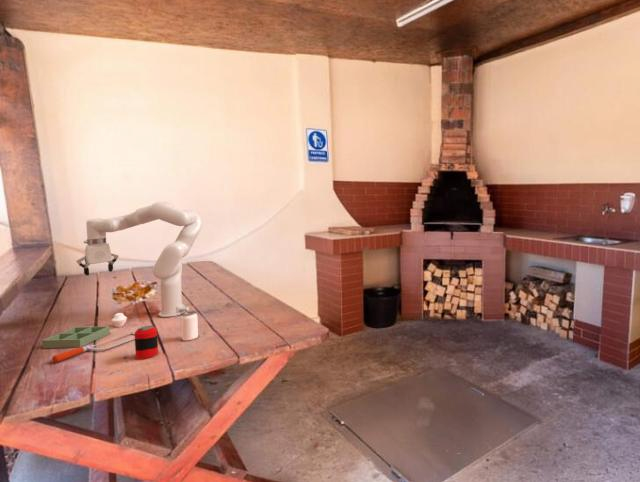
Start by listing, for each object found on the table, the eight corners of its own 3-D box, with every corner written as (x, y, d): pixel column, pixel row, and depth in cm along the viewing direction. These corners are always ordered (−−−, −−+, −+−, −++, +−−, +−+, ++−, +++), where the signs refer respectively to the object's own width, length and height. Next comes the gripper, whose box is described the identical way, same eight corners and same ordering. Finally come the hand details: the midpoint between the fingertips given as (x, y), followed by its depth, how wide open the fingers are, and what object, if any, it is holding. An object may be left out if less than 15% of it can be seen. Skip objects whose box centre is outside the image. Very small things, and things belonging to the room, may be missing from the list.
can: (185, 342, 180) (184, 316, 179) (179, 339, 183) (178, 314, 183) (200, 337, 185) (199, 312, 185) (194, 334, 189) (193, 310, 188)
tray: (109, 333, 191) (109, 326, 191) (80, 347, 175) (79, 339, 175) (75, 334, 191) (75, 327, 190) (42, 348, 174) (42, 340, 174)
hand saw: (130, 329, 192) (147, 330, 190) (130, 335, 192) (147, 337, 190) (51, 355, 160) (70, 357, 158) (51, 362, 160) (70, 365, 158)
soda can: (131, 357, 164) (130, 330, 163) (150, 350, 171) (149, 323, 170) (143, 360, 161) (141, 332, 161) (162, 353, 168) (161, 326, 168)
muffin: (125, 323, 205) (125, 310, 205) (128, 325, 202) (127, 312, 201) (110, 326, 201) (109, 313, 200) (112, 329, 197) (112, 315, 196)
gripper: (77, 244, 199) (80, 277, 200) (119, 240, 214) (121, 270, 215) (72, 243, 203) (75, 276, 204) (114, 239, 218) (116, 269, 219)
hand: (99, 273), depth 210 cm, fingers open, 9 cm apart
